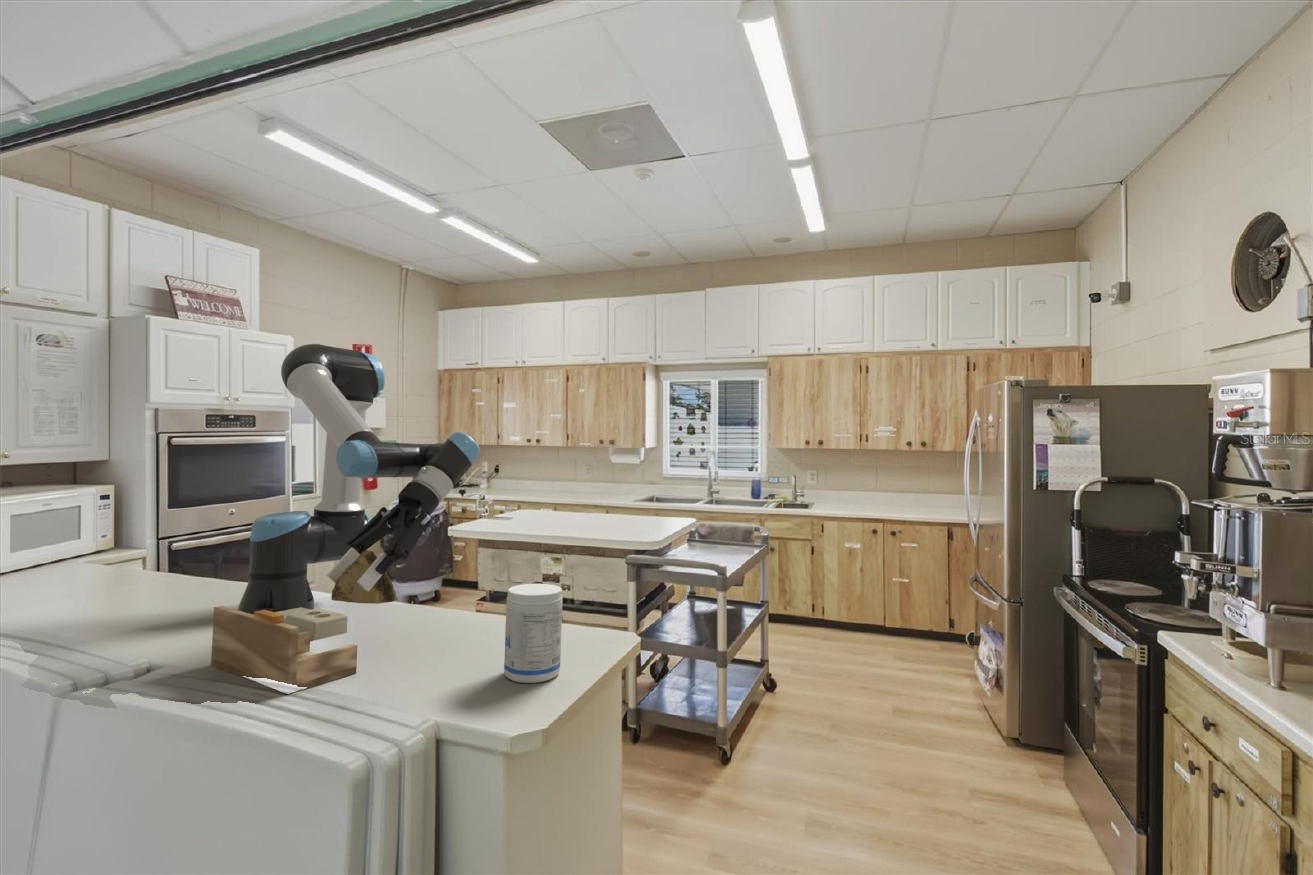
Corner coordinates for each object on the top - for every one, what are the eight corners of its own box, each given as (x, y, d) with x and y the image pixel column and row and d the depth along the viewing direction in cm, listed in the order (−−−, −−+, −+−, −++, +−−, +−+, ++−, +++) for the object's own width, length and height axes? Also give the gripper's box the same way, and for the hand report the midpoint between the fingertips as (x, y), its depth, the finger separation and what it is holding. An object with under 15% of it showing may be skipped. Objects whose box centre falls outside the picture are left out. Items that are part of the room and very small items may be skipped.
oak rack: (278, 648, 113) (281, 589, 113) (356, 673, 100) (359, 606, 101) (209, 665, 103) (213, 600, 103) (286, 695, 90) (289, 621, 91)
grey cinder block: (301, 603, 134) (348, 614, 124) (300, 621, 133) (347, 634, 124) (267, 609, 127) (314, 622, 118) (266, 628, 127) (313, 642, 118)
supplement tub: (499, 669, 104) (502, 584, 104) (552, 662, 108) (555, 581, 108) (509, 688, 95) (511, 596, 96) (566, 681, 99) (568, 592, 99)
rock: (312, 590, 107) (342, 590, 102) (339, 549, 112) (369, 547, 107) (359, 617, 114) (389, 619, 108) (383, 577, 119) (413, 577, 114)
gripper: (381, 477, 125) (300, 563, 110) (450, 482, 114) (370, 578, 100) (402, 501, 129) (326, 587, 115) (470, 508, 118) (396, 603, 104)
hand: (347, 583), depth 107 cm, fingers closed on rock, 9 cm apart
